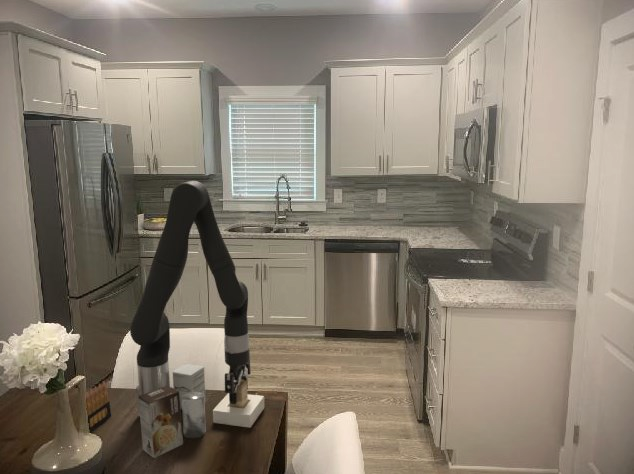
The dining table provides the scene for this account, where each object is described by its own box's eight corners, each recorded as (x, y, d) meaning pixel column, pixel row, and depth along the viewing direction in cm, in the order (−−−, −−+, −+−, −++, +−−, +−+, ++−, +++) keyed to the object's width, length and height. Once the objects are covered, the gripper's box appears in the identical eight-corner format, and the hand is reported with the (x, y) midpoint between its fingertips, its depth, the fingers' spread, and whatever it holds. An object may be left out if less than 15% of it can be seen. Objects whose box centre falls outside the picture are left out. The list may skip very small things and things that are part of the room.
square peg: (230, 417, 154) (229, 384, 152) (236, 411, 158) (235, 378, 156) (242, 419, 153) (241, 385, 151) (248, 412, 157) (246, 379, 155)
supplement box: (173, 408, 160) (171, 371, 158) (187, 398, 167) (185, 362, 165) (193, 413, 157) (190, 375, 155) (206, 402, 164) (204, 365, 162)
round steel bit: (179, 436, 144) (177, 401, 142) (190, 425, 150) (188, 390, 148) (199, 439, 142) (197, 403, 141) (209, 427, 149) (208, 393, 147)
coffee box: (171, 436, 144) (168, 384, 142) (183, 444, 140) (180, 391, 137) (141, 449, 138) (137, 395, 135) (153, 459, 133) (149, 403, 131)
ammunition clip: (86, 434, 146) (83, 396, 144) (81, 433, 146) (77, 395, 144) (111, 416, 156) (108, 380, 154) (106, 415, 156) (103, 379, 154)
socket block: (213, 422, 151) (212, 410, 151) (229, 403, 163) (229, 392, 162) (250, 427, 148) (250, 415, 148) (264, 407, 160) (264, 396, 159)
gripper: (234, 337, 160) (236, 385, 162) (215, 355, 146) (217, 406, 149) (256, 339, 158) (258, 387, 160) (239, 357, 144) (241, 409, 147)
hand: (238, 396), depth 155 cm, fingers open, 8 cm apart
